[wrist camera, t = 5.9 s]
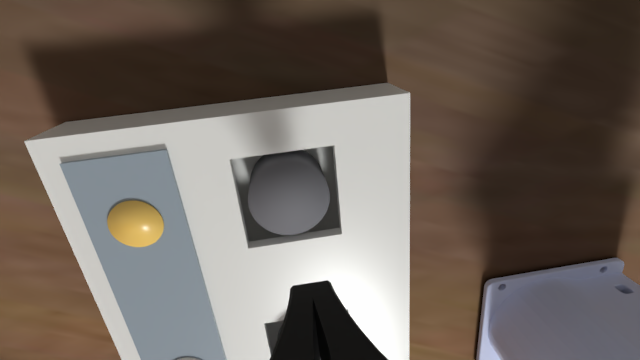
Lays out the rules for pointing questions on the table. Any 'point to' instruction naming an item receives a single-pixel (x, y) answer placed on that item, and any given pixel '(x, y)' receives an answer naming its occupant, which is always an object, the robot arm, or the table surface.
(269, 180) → the button
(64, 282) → the table surface
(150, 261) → the button board
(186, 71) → the table surface
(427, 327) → the table surface
